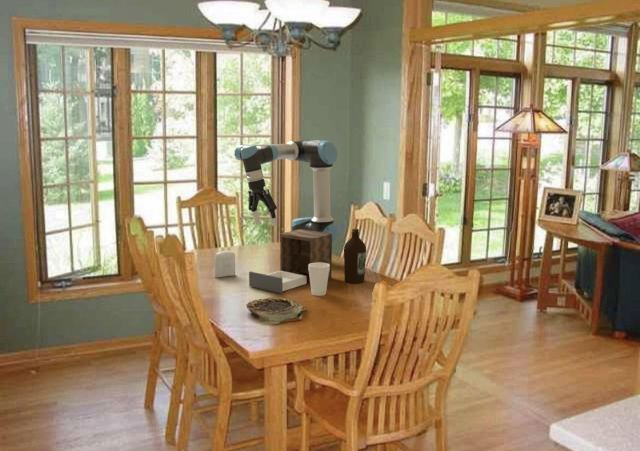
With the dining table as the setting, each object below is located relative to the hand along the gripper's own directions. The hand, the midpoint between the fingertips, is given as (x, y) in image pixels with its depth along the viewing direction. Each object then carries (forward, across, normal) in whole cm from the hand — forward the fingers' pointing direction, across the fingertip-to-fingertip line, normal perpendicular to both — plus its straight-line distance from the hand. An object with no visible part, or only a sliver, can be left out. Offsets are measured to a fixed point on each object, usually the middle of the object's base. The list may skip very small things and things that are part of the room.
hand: (266, 224), depth 301 cm
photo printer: (+23, -26, -13) cm, 37 cm away
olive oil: (+36, +18, +30) cm, 50 cm away
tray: (+28, +4, -3) cm, 28 cm away
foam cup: (+32, +25, +3) cm, 41 cm away
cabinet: (+31, -1, +15) cm, 34 cm away
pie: (+28, +36, -29) cm, 54 cm away
